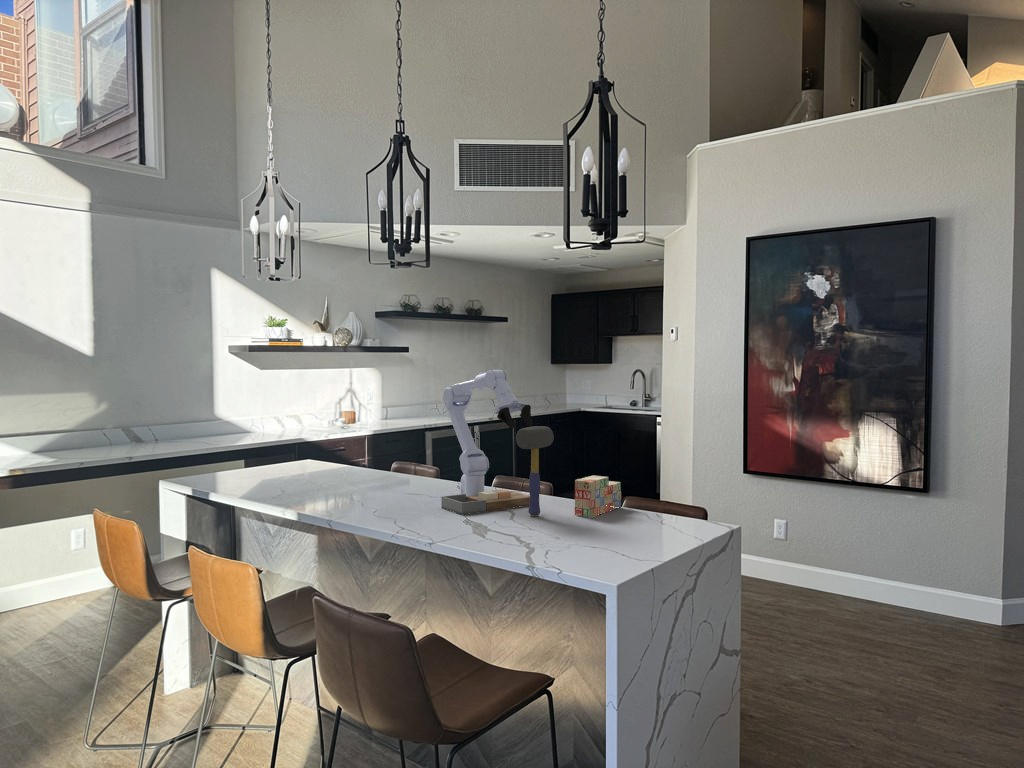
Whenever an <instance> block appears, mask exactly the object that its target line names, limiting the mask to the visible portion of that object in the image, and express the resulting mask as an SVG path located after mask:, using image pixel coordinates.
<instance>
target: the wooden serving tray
mask: <svg viewBox="0 0 1024 768" xmlns="http://www.w3.org/2000/svg"><path fill="white" fill-rule="evenodd" d="M479 500H485V499H481V498H478V495H474V496H466V502H471V501H479ZM528 505H530V495H527V494H525V493H520V492H517V491H512V490H511V497H506V498H498V499H490V500H486V512H494V511H493V510H495V511H500V510H501V509H502V510H507V508H510V509H514V508H513V507H517V508H520V507H519V506H525V507H529V506H528ZM502 510H501V511H502Z"/></svg>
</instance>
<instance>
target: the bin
mask: <svg viewBox="0 0 1024 768" xmlns="http://www.w3.org/2000/svg"><path fill="white" fill-rule="evenodd" d="M440 499H441V501H440V502H441V504H440V505H441V507H442V508H441V509H443V508H445V509H444V510H446V509H448V510H447V511H449V510H451V511H450V512H452V511H454V512H453V513H455V512H456V513H455V514H458V513H459V514H458V515H461V514H465V515H469V514H468V513H472V514H478V513H477V512H480V513H486V512H487V511H486V500H479V501H471V502H466V494H461V493H460V494H450V495H442V496H441V498H440ZM485 511H486V512H485Z"/></svg>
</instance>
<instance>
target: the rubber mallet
mask: <svg viewBox="0 0 1024 768" xmlns="http://www.w3.org/2000/svg"><path fill="white" fill-rule="evenodd" d="M554 437H555V435H554V432H553V430H552V429H551V428H550V427H549V426H545V425H544V426H543V425H541V426H540V425H539V426H537V425H535V426H531V427H528V426H527V427H522V428H520V429H519V430H518V431H517V433H516V436H515V442H516V444H517V446H518V447H519V448H520V449H523V450H530V451H531V454H530V457H531V459H530V464H531V465H530V473H529V480H528V489H529V496H530V505H529V506H528V514H529V516H530V517H534V518H535V517H539V516H540V514H541V507H540V493H541V478H540V472H539V471H540V470H539V469H540V467H539V465H540V464H539V463H540V459H539V458H540V457H539V455H540V452H539V451H540V450H539V449H542V448H547V447H549V446H551V445H552V444H553V443H554Z"/></svg>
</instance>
